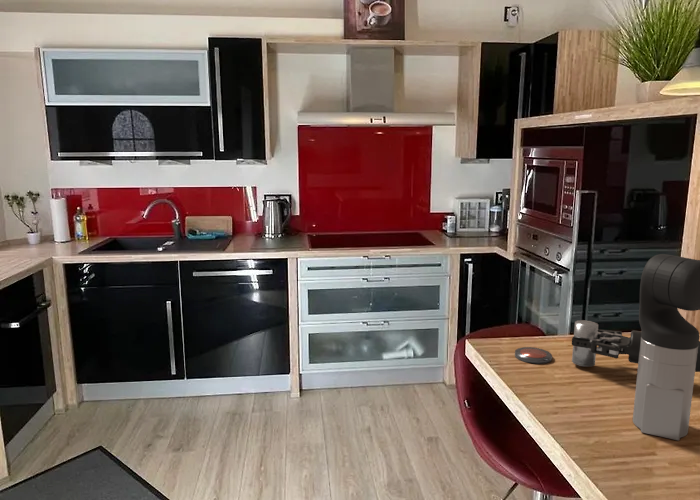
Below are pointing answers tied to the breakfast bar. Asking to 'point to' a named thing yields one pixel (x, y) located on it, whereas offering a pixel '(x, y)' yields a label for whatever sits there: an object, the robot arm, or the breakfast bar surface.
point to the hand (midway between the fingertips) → (573, 337)
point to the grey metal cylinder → (582, 354)
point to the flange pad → (533, 355)
